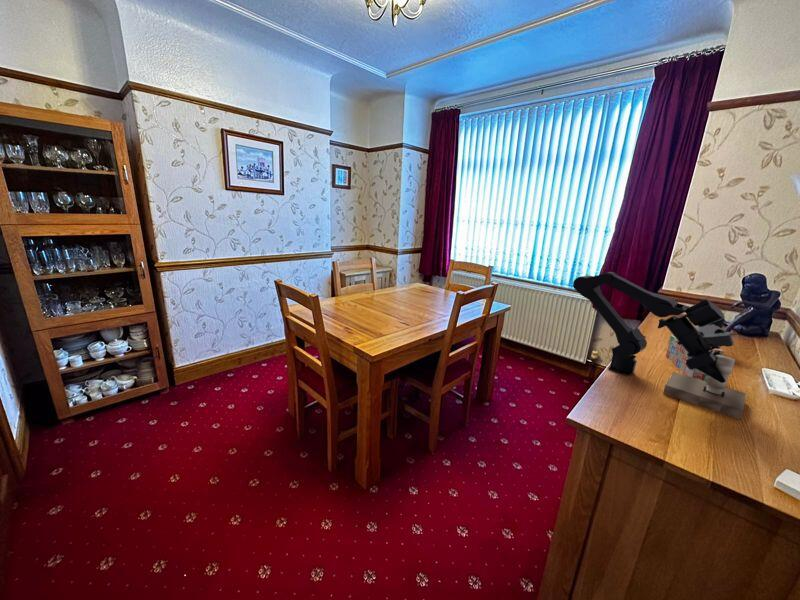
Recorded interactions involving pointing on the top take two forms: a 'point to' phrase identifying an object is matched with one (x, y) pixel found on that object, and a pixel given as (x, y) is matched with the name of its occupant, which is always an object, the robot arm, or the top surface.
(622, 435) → the top surface
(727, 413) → the gray slotted board
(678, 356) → the stack of blocks
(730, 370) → the ash peg
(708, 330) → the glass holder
